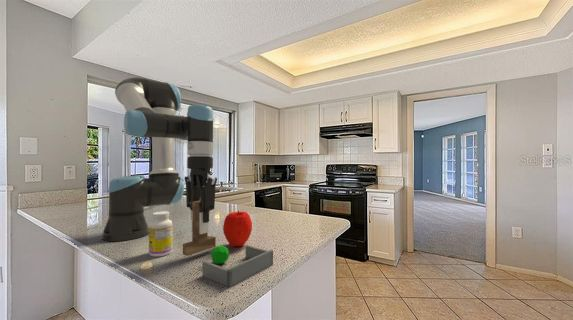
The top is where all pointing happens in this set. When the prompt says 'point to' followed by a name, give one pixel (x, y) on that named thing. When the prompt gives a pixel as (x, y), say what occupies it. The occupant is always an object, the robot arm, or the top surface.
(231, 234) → the apple
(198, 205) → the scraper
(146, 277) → the top surface
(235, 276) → the tray
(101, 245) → the top surface
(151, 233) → the supplement bottle
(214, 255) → the polyhedron
